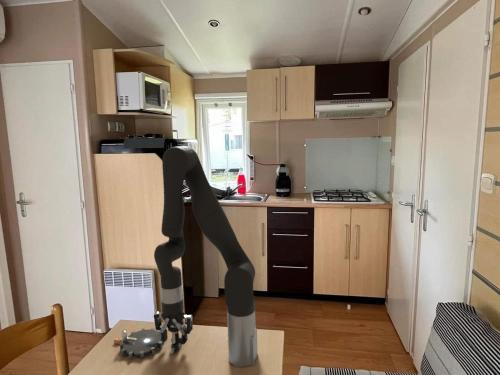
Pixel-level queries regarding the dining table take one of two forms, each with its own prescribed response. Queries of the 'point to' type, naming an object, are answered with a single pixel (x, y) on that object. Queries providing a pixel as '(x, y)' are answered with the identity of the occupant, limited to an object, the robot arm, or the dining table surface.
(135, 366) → the dining table surface
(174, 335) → the push button
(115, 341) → the pointer block
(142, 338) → the sprocket wheel
